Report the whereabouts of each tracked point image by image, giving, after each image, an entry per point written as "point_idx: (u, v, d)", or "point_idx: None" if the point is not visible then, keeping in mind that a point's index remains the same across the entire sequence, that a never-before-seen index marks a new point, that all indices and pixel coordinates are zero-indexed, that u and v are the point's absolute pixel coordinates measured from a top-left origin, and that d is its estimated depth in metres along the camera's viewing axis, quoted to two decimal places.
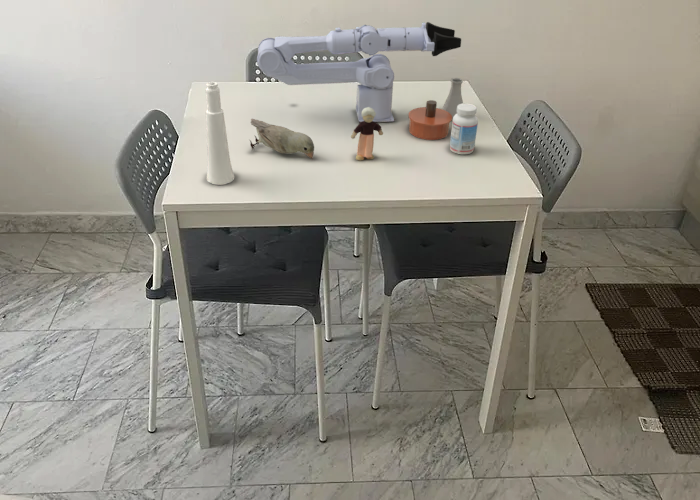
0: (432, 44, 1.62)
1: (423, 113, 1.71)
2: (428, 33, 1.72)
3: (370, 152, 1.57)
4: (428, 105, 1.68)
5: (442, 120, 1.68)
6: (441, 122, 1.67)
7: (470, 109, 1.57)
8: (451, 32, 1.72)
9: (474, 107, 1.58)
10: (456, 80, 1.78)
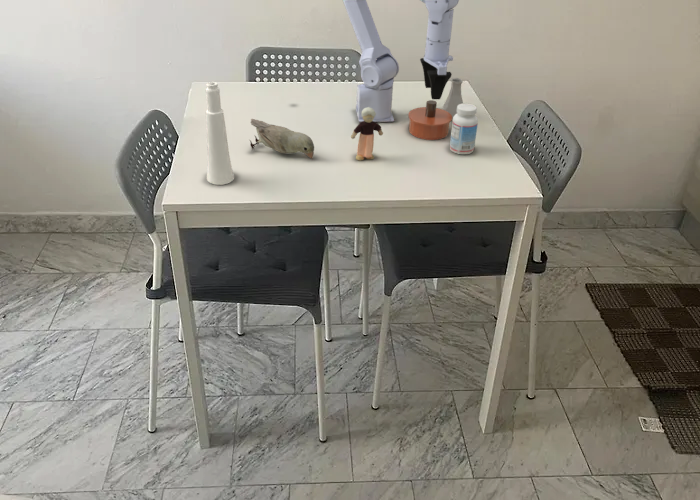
0: (445, 72, 1.57)
1: (423, 113, 1.71)
2: None
3: (370, 152, 1.57)
4: (428, 105, 1.68)
5: (442, 120, 1.68)
6: (441, 122, 1.67)
7: (470, 109, 1.57)
8: None
9: (474, 107, 1.58)
10: (456, 80, 1.78)
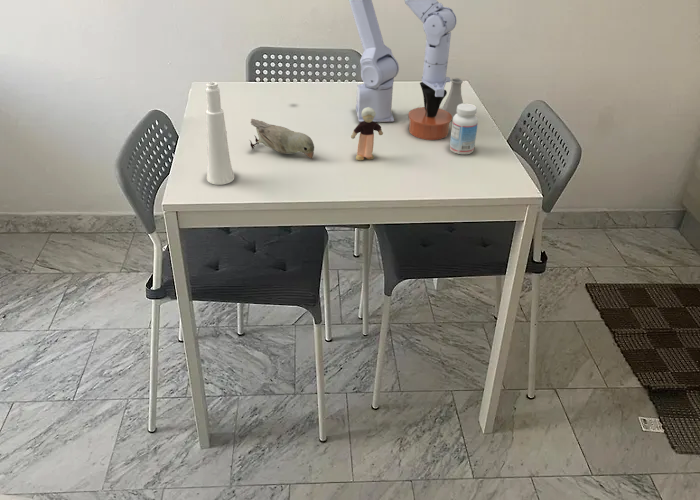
0: (442, 94, 1.60)
1: (423, 113, 1.71)
2: None
3: (370, 152, 1.57)
4: None
5: (442, 120, 1.68)
6: (441, 122, 1.67)
7: (470, 109, 1.57)
8: None
9: (474, 107, 1.58)
10: (456, 80, 1.78)
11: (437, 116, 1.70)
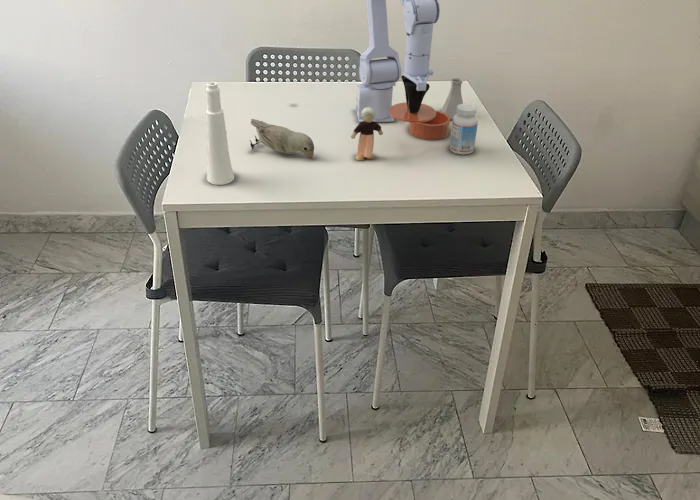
0: (424, 88, 1.48)
1: (405, 109, 1.60)
2: None
3: (370, 152, 1.57)
4: None
5: (425, 116, 1.56)
6: (424, 118, 1.56)
7: (470, 109, 1.57)
8: None
9: (474, 107, 1.58)
10: (456, 80, 1.78)
11: (420, 112, 1.59)
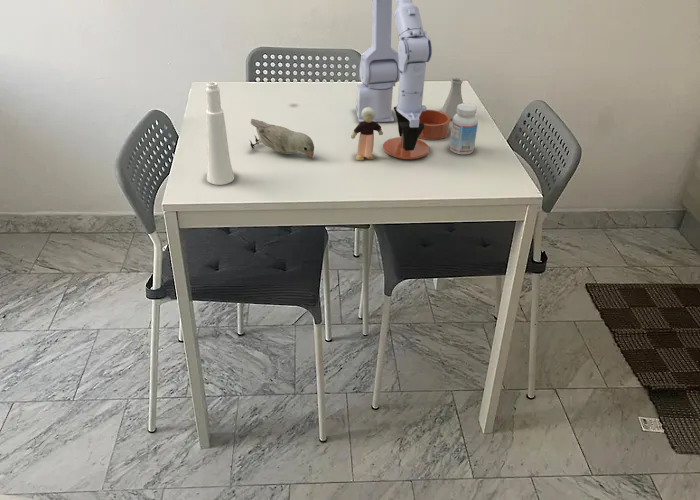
0: (417, 125, 1.51)
1: (399, 144, 1.63)
2: None
3: (370, 152, 1.57)
4: None
5: (418, 153, 1.60)
6: (417, 154, 1.59)
7: (470, 109, 1.57)
8: None
9: (474, 107, 1.58)
10: (456, 80, 1.78)
11: None
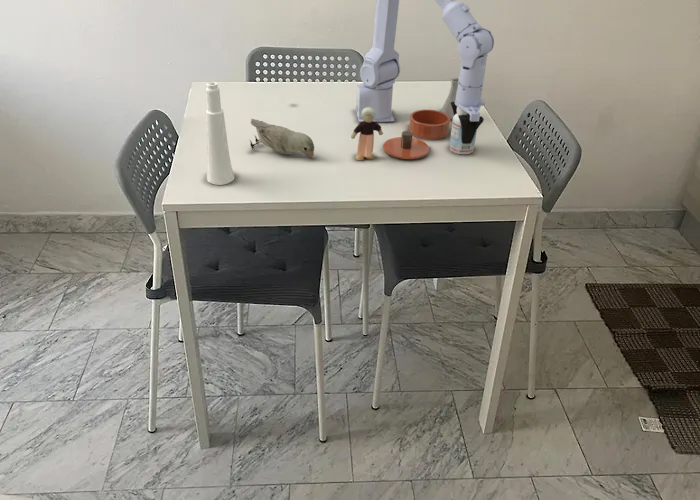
0: (478, 119, 1.52)
1: (399, 144, 1.63)
2: None
3: (370, 152, 1.57)
4: (403, 136, 1.60)
5: (418, 153, 1.60)
6: (417, 154, 1.59)
7: None
8: None
9: None
10: (456, 80, 1.78)
11: (413, 147, 1.62)
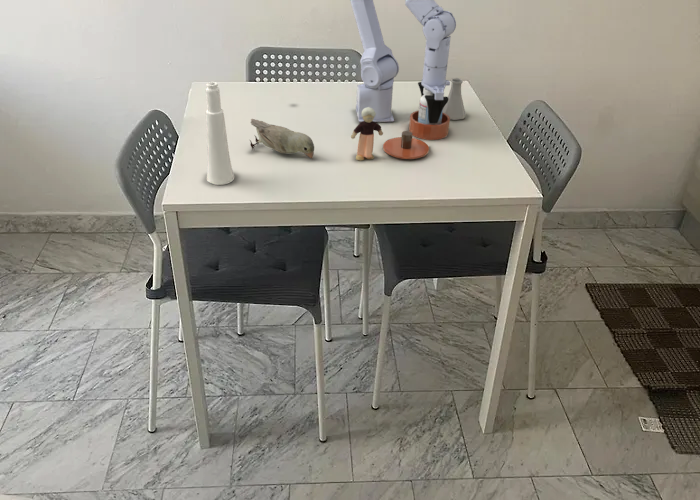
0: (442, 98, 1.60)
1: (399, 144, 1.63)
2: None
3: (370, 152, 1.57)
4: (403, 136, 1.60)
5: (418, 153, 1.60)
6: (417, 154, 1.59)
7: None
8: None
9: None
10: (456, 80, 1.78)
11: (413, 147, 1.62)
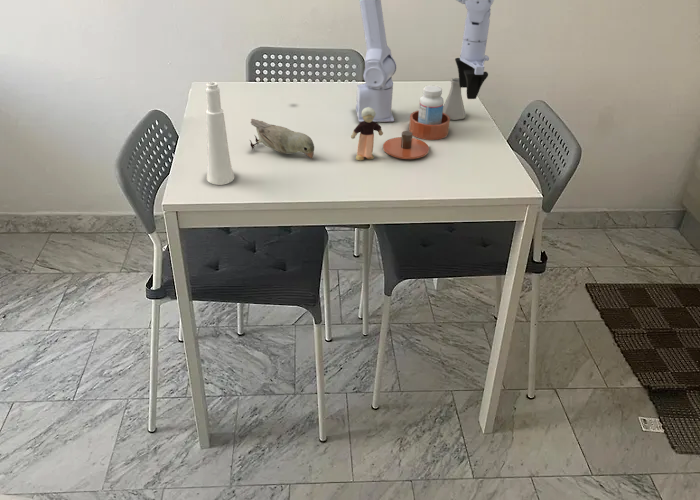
0: (482, 72, 1.57)
1: (399, 144, 1.63)
2: None
3: (370, 152, 1.57)
4: (403, 136, 1.60)
5: (418, 153, 1.60)
6: (417, 154, 1.59)
7: (435, 90, 1.65)
8: (466, 83, 1.70)
9: (439, 88, 1.66)
10: (456, 80, 1.78)
11: (413, 147, 1.62)
